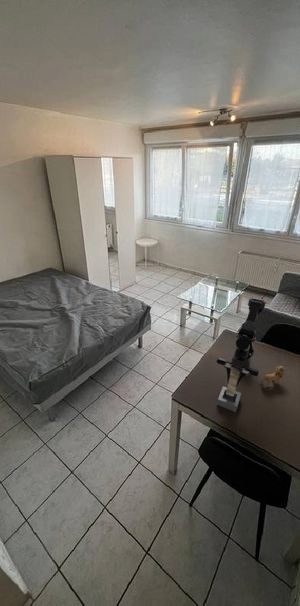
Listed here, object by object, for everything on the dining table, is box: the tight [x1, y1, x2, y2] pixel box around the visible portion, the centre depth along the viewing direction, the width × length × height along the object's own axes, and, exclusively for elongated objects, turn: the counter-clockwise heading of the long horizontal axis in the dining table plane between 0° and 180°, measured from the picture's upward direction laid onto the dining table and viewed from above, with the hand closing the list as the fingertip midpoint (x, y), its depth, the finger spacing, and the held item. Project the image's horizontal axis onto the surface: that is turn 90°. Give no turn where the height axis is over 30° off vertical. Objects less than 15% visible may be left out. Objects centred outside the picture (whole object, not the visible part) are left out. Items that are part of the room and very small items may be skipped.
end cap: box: [216, 386, 242, 413], centre depth 125 cm, size 9×9×4 cm
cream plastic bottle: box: [226, 368, 241, 397], centre depth 120 cm, size 4×4×13 cm
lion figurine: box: [259, 365, 285, 388], centre depth 134 cm, size 15×5×9 cm, turn 119°
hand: (232, 385), depth 119 cm, fingers closed on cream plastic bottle, 3 cm apart
